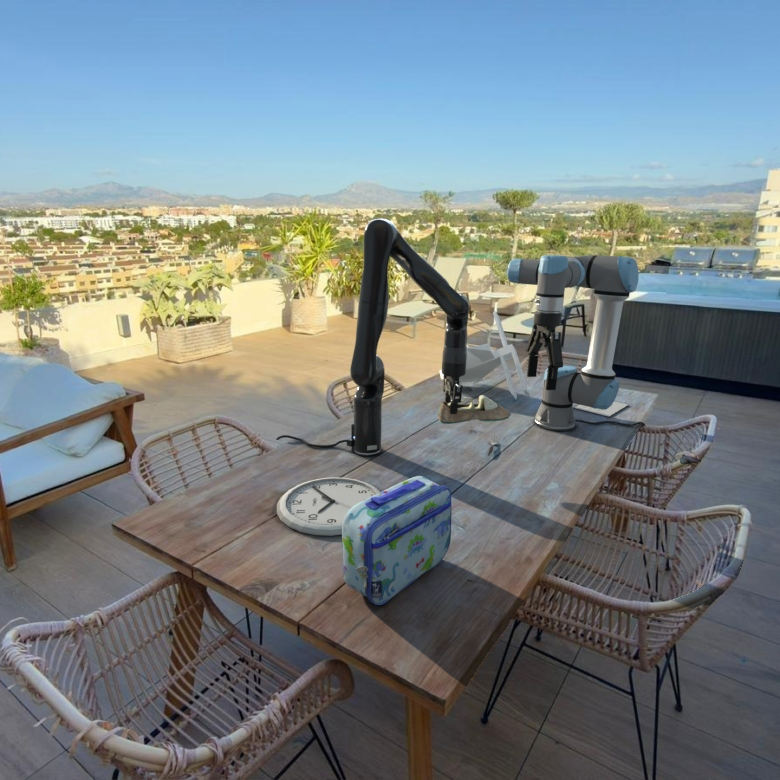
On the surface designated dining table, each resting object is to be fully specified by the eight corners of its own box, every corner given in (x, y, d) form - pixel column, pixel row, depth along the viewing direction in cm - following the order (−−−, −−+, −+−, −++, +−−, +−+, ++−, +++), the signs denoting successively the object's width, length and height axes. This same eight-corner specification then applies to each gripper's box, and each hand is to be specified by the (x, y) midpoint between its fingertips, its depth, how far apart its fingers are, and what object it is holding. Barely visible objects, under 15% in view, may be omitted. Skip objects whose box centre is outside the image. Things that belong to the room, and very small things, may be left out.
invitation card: (608, 416, 214) (573, 407, 224) (608, 416, 214) (573, 408, 224) (628, 404, 229) (594, 396, 238) (628, 405, 229) (594, 397, 238)
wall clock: (392, 527, 129) (268, 531, 127) (391, 533, 130) (269, 537, 127) (383, 473, 158) (282, 475, 155) (383, 478, 158) (282, 480, 156)
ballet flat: (515, 421, 169) (516, 397, 166) (442, 428, 164) (442, 403, 162) (505, 413, 176) (506, 389, 174) (435, 419, 172) (435, 395, 170)
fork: (484, 456, 175) (484, 450, 174) (492, 439, 189) (492, 434, 188) (491, 457, 174) (492, 452, 173) (499, 440, 188) (499, 435, 188)
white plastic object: (461, 429, 252) (437, 405, 227) (444, 352, 274) (420, 323, 250) (535, 404, 240) (518, 377, 215) (510, 326, 262) (492, 293, 237)
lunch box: (371, 618, 102) (371, 524, 95) (336, 591, 109) (334, 502, 103) (455, 562, 119) (460, 479, 113) (420, 542, 126) (423, 463, 120)
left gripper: (437, 354, 170) (434, 403, 175) (448, 365, 156) (445, 418, 161) (459, 354, 171) (455, 402, 176) (472, 365, 157) (468, 417, 163)
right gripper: (519, 305, 160) (513, 371, 166) (555, 318, 136) (546, 396, 143) (542, 304, 161) (535, 371, 167) (582, 318, 137) (572, 395, 144)
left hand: (450, 410), depth 169 cm, fingers closed on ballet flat, 5 cm apart
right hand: (540, 382), depth 155 cm, fingers open, 13 cm apart
